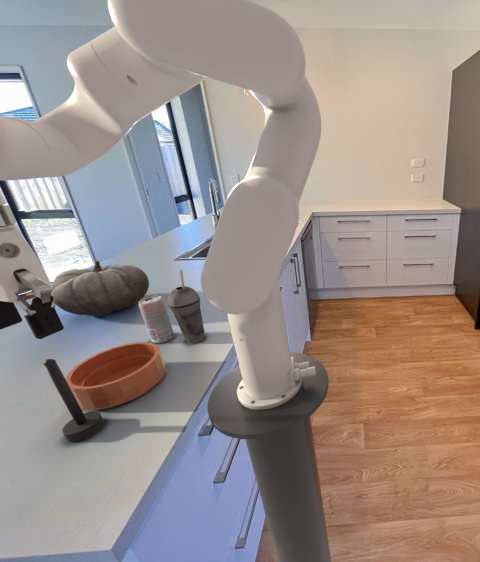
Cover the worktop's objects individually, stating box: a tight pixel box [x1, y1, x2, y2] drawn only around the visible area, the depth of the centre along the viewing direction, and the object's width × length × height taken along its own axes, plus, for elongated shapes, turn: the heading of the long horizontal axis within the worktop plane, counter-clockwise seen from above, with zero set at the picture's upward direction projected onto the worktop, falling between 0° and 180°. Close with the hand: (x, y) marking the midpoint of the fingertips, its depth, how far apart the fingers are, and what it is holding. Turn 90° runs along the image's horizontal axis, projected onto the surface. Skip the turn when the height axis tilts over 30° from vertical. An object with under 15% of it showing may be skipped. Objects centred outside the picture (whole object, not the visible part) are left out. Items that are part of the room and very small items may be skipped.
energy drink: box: [138, 295, 175, 344], centre depth 81 cm, size 5×5×12 cm
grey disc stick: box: [43, 358, 105, 443], centre depth 52 cm, size 5×5×16 cm
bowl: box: [65, 341, 167, 411], centre depth 65 cm, size 16×16×6 cm
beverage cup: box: [167, 269, 206, 345], centre depth 79 cm, size 7×7×20 cm
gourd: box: [51, 259, 150, 317], centre depth 99 cm, size 25×25×17 cm
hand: (29, 329), depth 47 cm, fingers open, 9 cm apart
